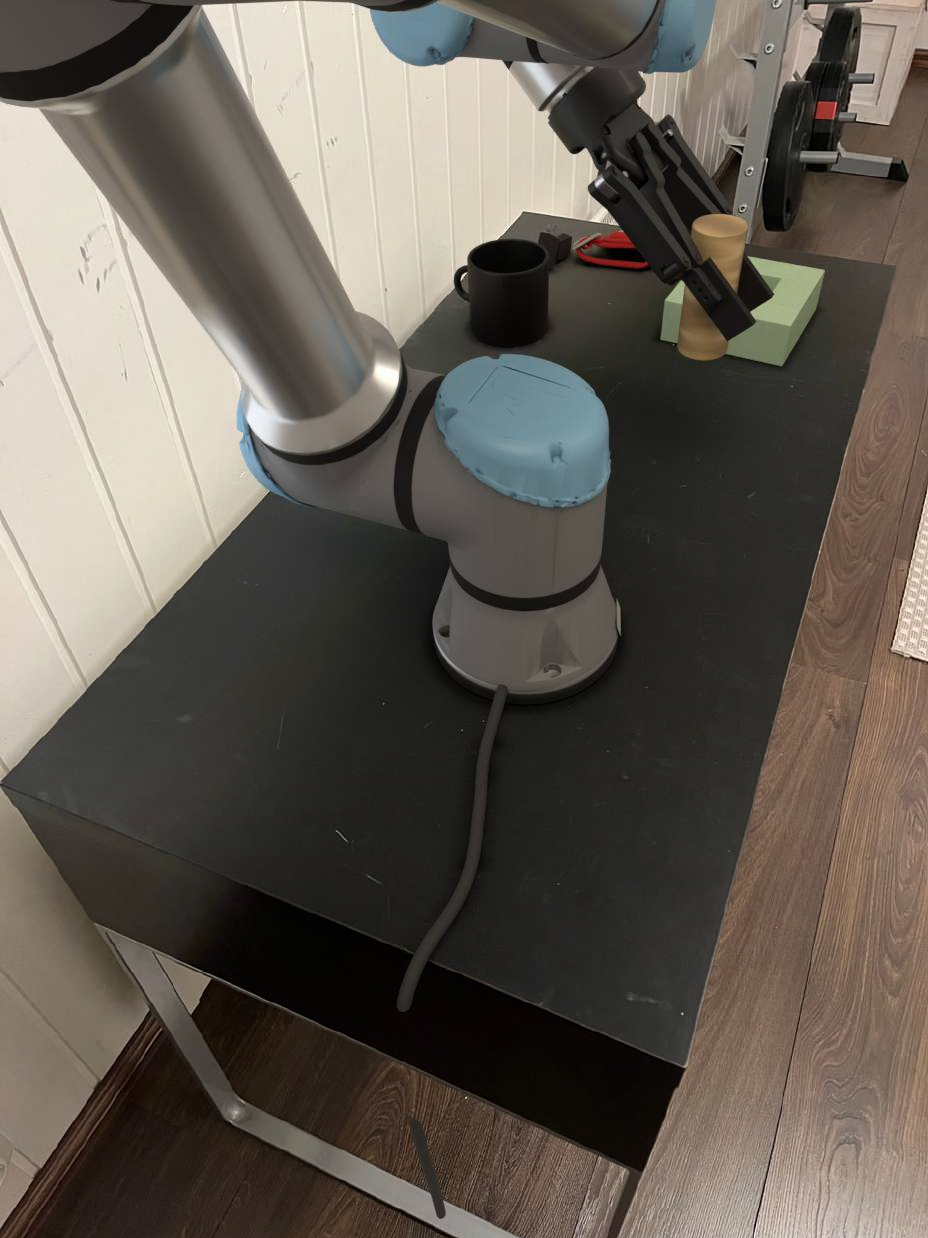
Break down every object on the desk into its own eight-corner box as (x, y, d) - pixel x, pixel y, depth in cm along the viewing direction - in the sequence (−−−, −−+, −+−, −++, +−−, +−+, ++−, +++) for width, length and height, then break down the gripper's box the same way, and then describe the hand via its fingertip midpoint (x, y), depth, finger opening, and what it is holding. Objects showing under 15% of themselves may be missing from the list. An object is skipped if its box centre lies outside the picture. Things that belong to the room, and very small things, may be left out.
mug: (473, 300, 120) (470, 229, 113) (560, 317, 116) (562, 245, 109) (438, 334, 114) (432, 262, 108) (528, 354, 110) (528, 280, 103)
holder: (782, 366, 105) (790, 325, 102) (660, 339, 111) (664, 299, 107) (816, 309, 114) (825, 269, 110) (701, 287, 119) (706, 248, 116)
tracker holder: (629, 225, 130) (685, 229, 123) (627, 259, 132) (682, 265, 125) (564, 230, 124) (619, 235, 116) (563, 266, 126) (617, 272, 118)
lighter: (551, 272, 129) (561, 232, 127) (564, 275, 128) (575, 235, 126) (527, 261, 122) (538, 219, 120) (541, 264, 121) (552, 222, 120)
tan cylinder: (718, 365, 82) (738, 239, 74) (669, 354, 83) (684, 230, 75) (734, 341, 84) (755, 218, 76) (686, 331, 86) (703, 209, 78)
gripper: (565, 80, 66) (756, 343, 72) (656, 16, 76) (816, 250, 82) (499, 150, 72) (681, 388, 77) (592, 81, 82) (746, 296, 88)
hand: (750, 317), depth 80 cm, fingers closed on tan cylinder, 4 cm apart
